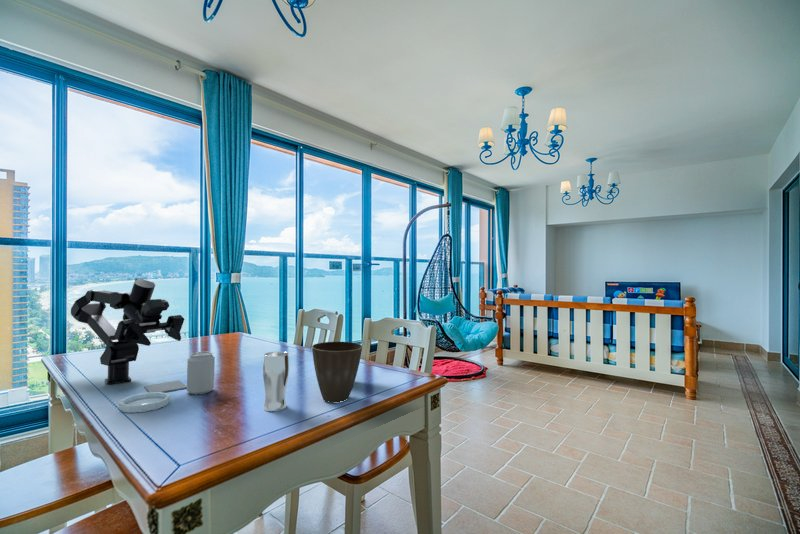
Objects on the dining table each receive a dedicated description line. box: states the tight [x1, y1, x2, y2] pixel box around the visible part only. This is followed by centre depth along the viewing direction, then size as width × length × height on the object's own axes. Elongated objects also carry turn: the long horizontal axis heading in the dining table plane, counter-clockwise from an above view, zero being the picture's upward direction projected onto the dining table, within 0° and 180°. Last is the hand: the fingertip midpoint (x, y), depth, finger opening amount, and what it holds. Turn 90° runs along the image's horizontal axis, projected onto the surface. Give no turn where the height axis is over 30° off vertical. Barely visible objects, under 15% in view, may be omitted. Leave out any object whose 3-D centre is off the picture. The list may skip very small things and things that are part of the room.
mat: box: [143, 380, 187, 393], centre depth 121 cm, size 10×10×1 cm
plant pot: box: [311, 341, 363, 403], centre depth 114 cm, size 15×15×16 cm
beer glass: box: [262, 351, 290, 413], centre depth 105 cm, size 7×7×15 cm
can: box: [186, 351, 216, 396], centre depth 118 cm, size 8×8×12 cm
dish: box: [118, 392, 171, 414], centre depth 105 cm, size 11×11×2 cm
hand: (165, 341), depth 115 cm, fingers open, 9 cm apart
